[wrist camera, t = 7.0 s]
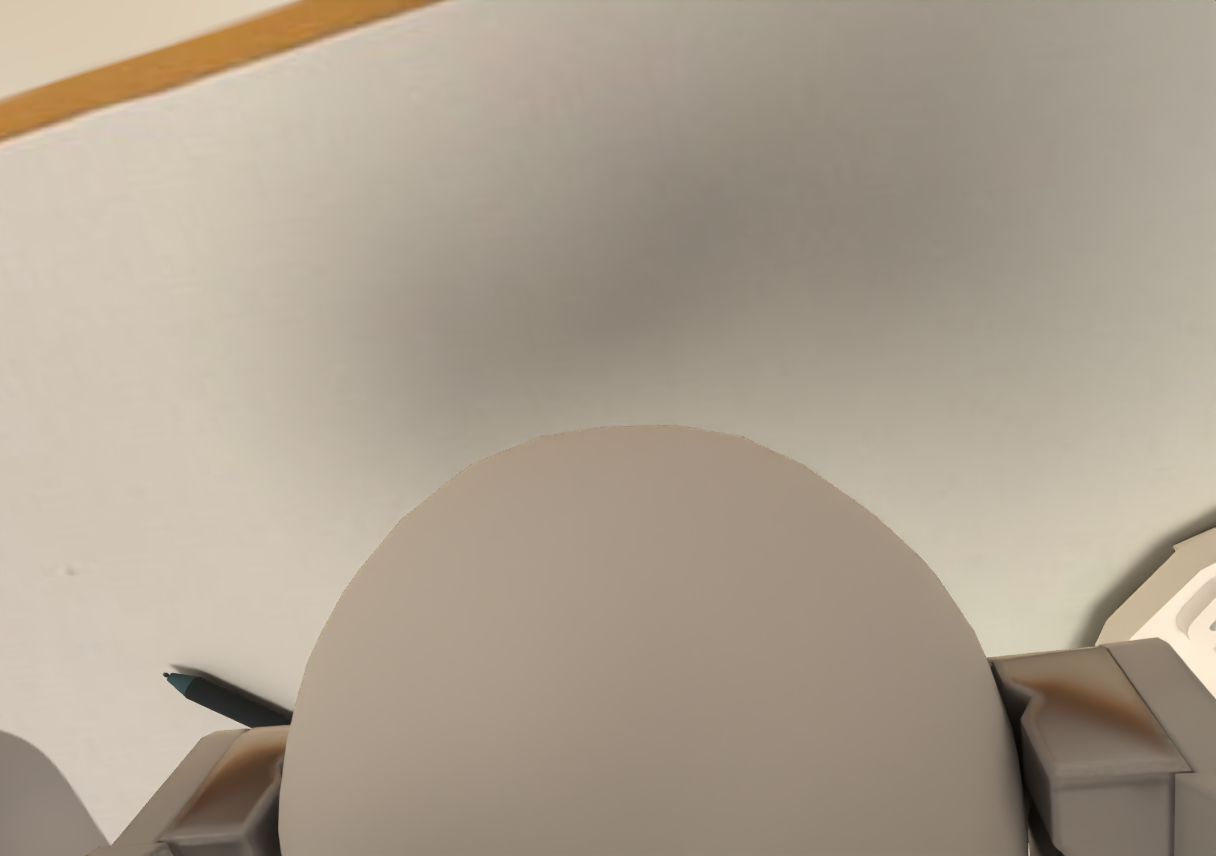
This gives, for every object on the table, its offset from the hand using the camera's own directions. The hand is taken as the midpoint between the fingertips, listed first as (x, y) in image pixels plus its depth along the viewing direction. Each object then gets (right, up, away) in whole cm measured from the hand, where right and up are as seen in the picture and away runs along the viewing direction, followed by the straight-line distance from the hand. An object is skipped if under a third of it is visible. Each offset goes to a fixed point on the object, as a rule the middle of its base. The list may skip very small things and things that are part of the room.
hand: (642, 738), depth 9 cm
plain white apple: (0, +1, +3) cm, 4 cm away
